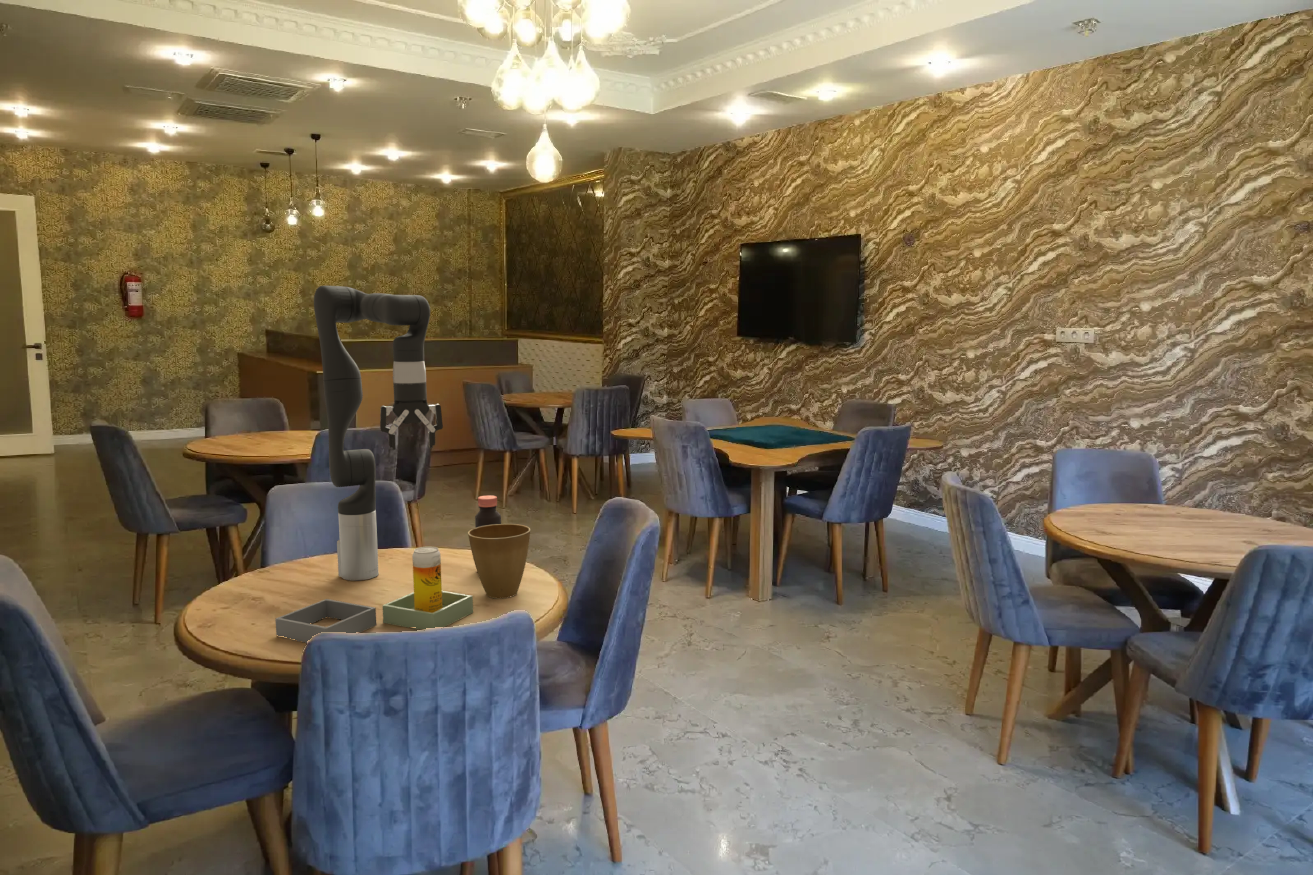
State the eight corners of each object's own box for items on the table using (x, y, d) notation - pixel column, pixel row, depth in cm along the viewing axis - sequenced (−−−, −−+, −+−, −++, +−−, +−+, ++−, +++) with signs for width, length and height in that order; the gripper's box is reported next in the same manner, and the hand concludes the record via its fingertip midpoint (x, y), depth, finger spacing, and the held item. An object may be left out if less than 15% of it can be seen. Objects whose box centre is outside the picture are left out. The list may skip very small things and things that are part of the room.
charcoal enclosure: (276, 636, 190) (275, 618, 189) (327, 615, 203) (326, 598, 202) (327, 647, 184) (326, 628, 183) (376, 625, 197) (375, 607, 196)
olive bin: (383, 622, 198) (382, 605, 198) (424, 604, 211) (423, 587, 210) (433, 632, 192) (433, 614, 192) (473, 612, 205) (472, 595, 204)
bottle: (472, 573, 235) (470, 499, 232) (483, 566, 242) (481, 494, 239) (496, 575, 234) (494, 500, 231) (506, 568, 240) (504, 495, 237)
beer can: (435, 619, 198) (432, 553, 196) (410, 617, 199) (407, 552, 197) (447, 610, 204) (444, 546, 202) (422, 608, 205) (419, 545, 203)
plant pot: (534, 584, 226) (533, 522, 224) (528, 603, 211) (526, 537, 209) (475, 585, 225) (473, 523, 223) (464, 604, 211) (462, 538, 208)
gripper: (379, 382, 204) (382, 452, 207) (442, 380, 209) (444, 449, 212) (377, 380, 211) (380, 447, 214) (438, 378, 216) (441, 444, 218)
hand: (412, 448), depth 213 cm, fingers open, 8 cm apart
